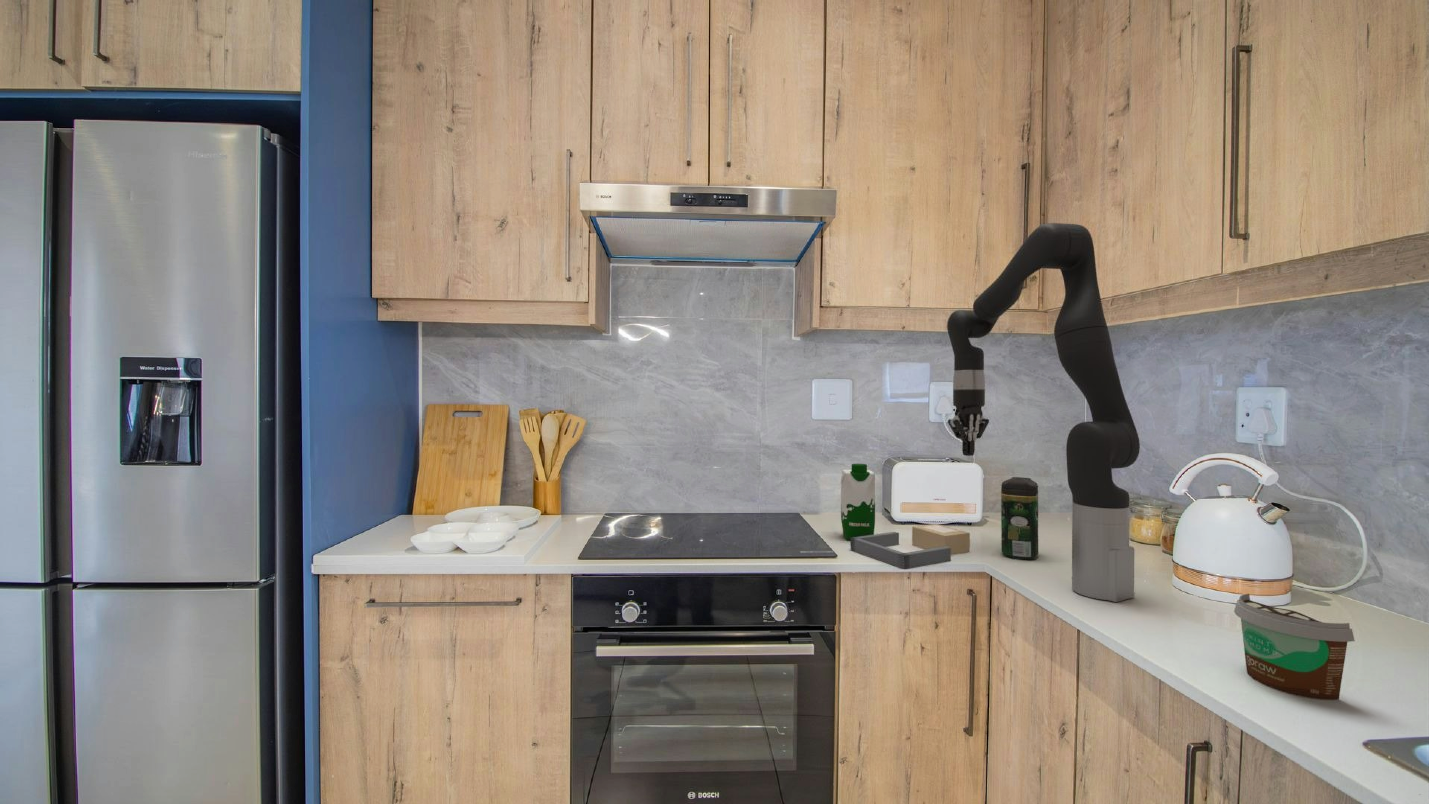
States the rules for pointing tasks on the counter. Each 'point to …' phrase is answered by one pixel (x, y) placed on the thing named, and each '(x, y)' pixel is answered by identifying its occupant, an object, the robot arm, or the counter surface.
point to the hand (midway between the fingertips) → (968, 455)
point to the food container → (1293, 650)
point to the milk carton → (857, 501)
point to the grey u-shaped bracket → (878, 550)
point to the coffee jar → (1019, 518)
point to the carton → (941, 538)
